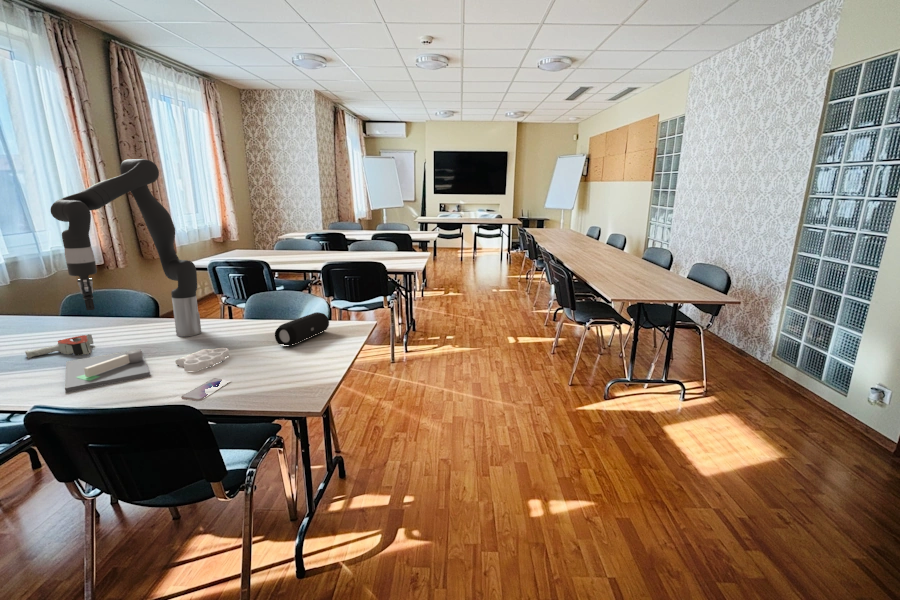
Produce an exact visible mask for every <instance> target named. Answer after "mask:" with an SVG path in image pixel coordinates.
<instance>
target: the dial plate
mask: <svg viewBox="0 0 900 600" xmlns="http://www.w3.org/2000/svg"><path fill="white" fill-rule="evenodd" d="M137 350H141V351H142V349H137ZM129 351H130V350H128V351H121V352H116V353H109V354H104V355H96V356H91V357H84V358H80V359H74V360H73V359H72V360H68V361H67V360H66V361H65V379H64V390H65V391H64V392H65V394H66V393H71V392H72V393H73V392H77V391H82V390H86V389H90V388H91V389H92V388H96V387H101V386H107V385H112V384H116V383H122V382H127V381H133V380H139V379H141V378H142V379H143V378H147V377H151V373H150V369H149V367H148V363H146V360H145V357H144V354H143V353H142V356H143V360H142V361H140V362H137V363H128V364H125V365H122V366H119V367H117V368H114V369H111V370H108V371H105V372H102V373H100V374H97V375H94V376H91V377H85V371H84V368H86V367H89V366H92V365H95V364H98V363H101V362H104V361H107V360H110V359H113V358H116V357H119V356H122V355H125V353H126V352H129ZM131 351H133V350H131Z"/></svg>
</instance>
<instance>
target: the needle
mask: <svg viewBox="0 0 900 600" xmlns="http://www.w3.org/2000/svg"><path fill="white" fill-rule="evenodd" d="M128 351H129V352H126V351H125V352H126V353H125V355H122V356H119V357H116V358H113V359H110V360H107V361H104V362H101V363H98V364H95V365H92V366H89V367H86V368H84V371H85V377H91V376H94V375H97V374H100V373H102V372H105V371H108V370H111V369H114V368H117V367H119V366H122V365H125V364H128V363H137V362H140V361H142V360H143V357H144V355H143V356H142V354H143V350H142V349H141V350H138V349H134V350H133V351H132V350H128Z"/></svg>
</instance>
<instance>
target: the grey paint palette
mask: <svg viewBox="0 0 900 600" xmlns="http://www.w3.org/2000/svg"><path fill="white" fill-rule="evenodd" d="M227 356H229V357H230V350H229V348H227V347H218V348H212V349H208V348H201V350H198V351H196V352H193V353H190V354H188V355H185V356H183V357H179V358H177V359H176V360H175V364H176V365H177V366H178V365H179V366H178V367H184V372H186V371H197V372H199V371H198V370H200V369H202V368H205V369H207V368H206V367H210V366H213V365H214V364H216V363H219V362H221V361H223V360H224V361H225V360H227V358H226V359H225V357H227ZM224 361H223V362H224ZM219 364H220V363H219ZM216 365H217V364H216ZM213 367H214V366H213ZM210 368H211V367H210ZM202 370H203V369H202ZM200 371H201V370H200Z"/></svg>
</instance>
